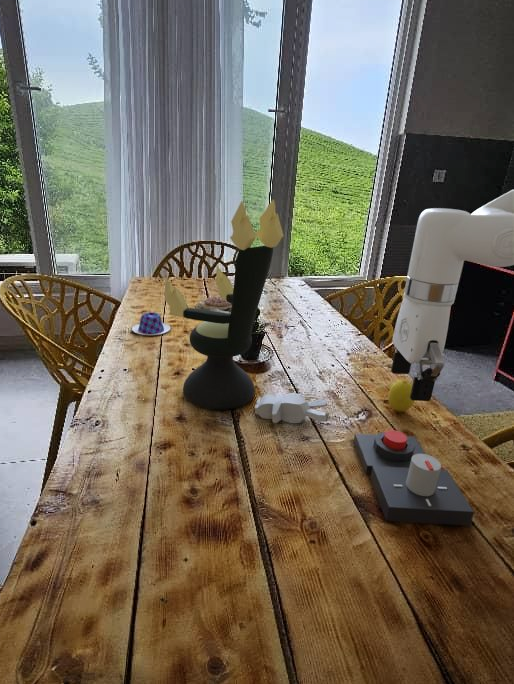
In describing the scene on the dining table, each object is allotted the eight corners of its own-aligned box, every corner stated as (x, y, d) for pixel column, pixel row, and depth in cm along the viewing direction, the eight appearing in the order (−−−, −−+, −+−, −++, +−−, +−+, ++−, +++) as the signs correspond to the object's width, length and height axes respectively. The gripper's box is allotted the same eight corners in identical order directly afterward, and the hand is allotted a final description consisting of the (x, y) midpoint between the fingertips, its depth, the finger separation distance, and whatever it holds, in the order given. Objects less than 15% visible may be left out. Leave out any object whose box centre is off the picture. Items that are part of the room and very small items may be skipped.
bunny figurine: (259, 386, 100) (327, 389, 97) (260, 406, 102) (327, 409, 99) (251, 407, 92) (325, 410, 88) (253, 428, 94) (325, 432, 90)
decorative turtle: (186, 304, 167) (186, 291, 166) (226, 300, 174) (227, 288, 172) (204, 320, 152) (204, 306, 150) (247, 315, 159) (248, 301, 157)
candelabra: (214, 369, 117) (219, 189, 100) (288, 396, 105) (308, 197, 88) (164, 396, 102) (160, 192, 85) (243, 431, 91) (257, 202, 74)
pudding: (177, 333, 140) (176, 317, 138) (141, 340, 133) (140, 323, 132) (160, 321, 149) (160, 306, 147) (126, 327, 143) (125, 312, 141)
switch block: (413, 445, 88) (417, 428, 87) (432, 479, 79) (437, 460, 78) (353, 442, 89) (356, 425, 87) (365, 475, 79) (368, 457, 78)
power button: (401, 438, 84) (403, 430, 84) (408, 451, 81) (410, 443, 80) (380, 437, 84) (381, 429, 84) (386, 449, 81) (388, 441, 80)
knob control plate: (443, 483, 78) (447, 468, 77) (469, 526, 69) (474, 511, 68) (369, 479, 78) (372, 464, 77) (385, 522, 69) (389, 506, 68)
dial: (402, 477, 75) (408, 451, 73) (428, 478, 75) (435, 452, 73) (411, 495, 70) (417, 468, 68) (439, 497, 70) (446, 469, 68)
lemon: (387, 416, 98) (393, 384, 95) (383, 404, 103) (389, 373, 100) (413, 419, 98) (420, 387, 94) (408, 407, 103) (415, 376, 100)
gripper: (389, 275, 78) (373, 363, 85) (427, 305, 62) (404, 411, 69) (432, 277, 78) (413, 365, 85) (481, 308, 62) (453, 413, 69)
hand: (409, 385), depth 77 cm, fingers open, 9 cm apart
